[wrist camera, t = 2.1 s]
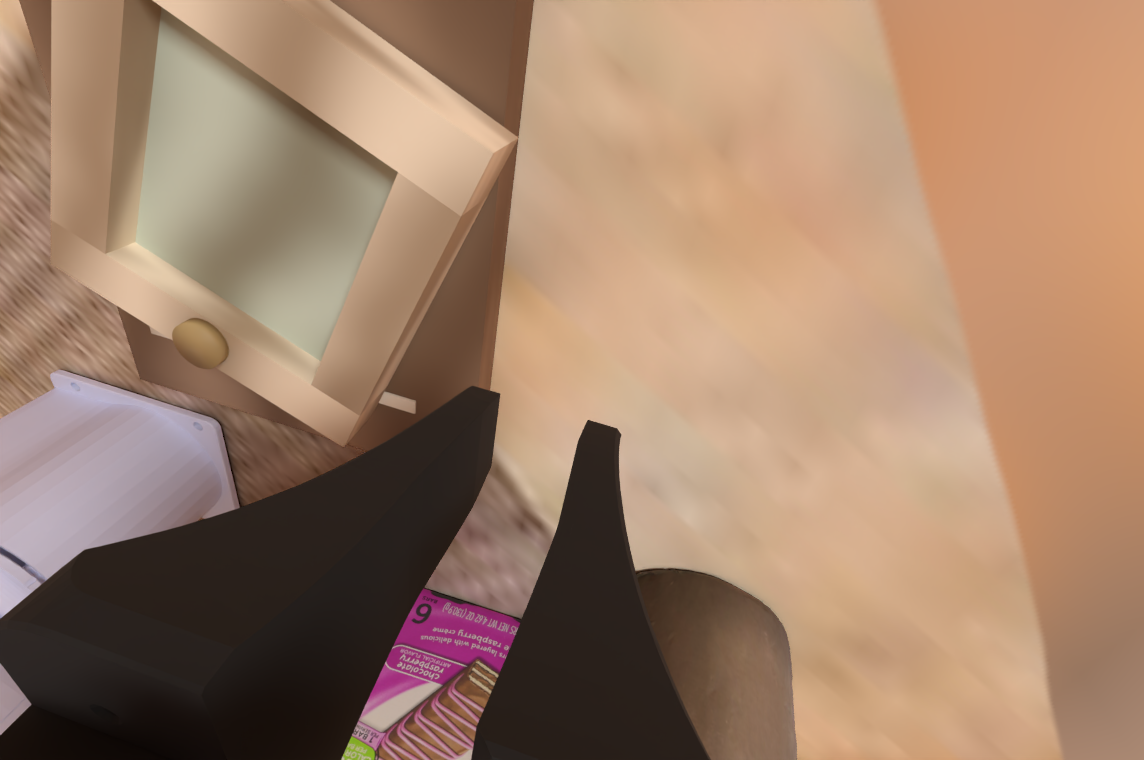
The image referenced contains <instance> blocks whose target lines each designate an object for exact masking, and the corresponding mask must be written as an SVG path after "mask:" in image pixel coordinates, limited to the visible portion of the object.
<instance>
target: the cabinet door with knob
mask: <svg viewBox="0 0 1144 760" xmlns="http://www.w3.org/2000/svg"><path fill="white" fill-rule="evenodd" d="M517 140H518V137H517V136H515V135H514V134H513V133H511V132H510V131H509V130H507V129H506V128H504V127H503V126H502V125H500V124H499V123H498V122H496V121H495V120H493V119H492V118H491V117H489V116H488V115H487V114H485V113H484V112H483V111H481V110H480V109H478V108H477V107H476V106H474V105H473V104H472V103H470V102H469V101H467V100H466V99H465V98H463V97H462V96H461V95H459V94H458V93H456V92H455V91H454V90H452V89H451V88H450V87H448V86H447V85H445V84H444V83H443V82H441V81H440V80H439V79H437V78H436V77H434V76H433V75H432V74H430V73H429V72H428V71H426V70H425V69H424V68H422V67H421V66H419V65H418V64H417V63H415V62H414V61H413V60H411V59H410V58H408V57H407V56H406V55H404V54H403V53H402V52H400V51H399V50H397V49H396V48H395V47H393V46H392V45H391V44H389V43H388V42H386V41H385V40H384V39H382V38H381V37H380V36H378V35H377V34H375V33H374V32H373V31H371V30H370V29H369V28H367V27H366V26H365V25H363V24H362V23H360V22H359V21H358V20H356V19H355V18H354V17H352V16H351V15H349V14H348V13H347V12H345V11H344V10H343V9H341V8H340V7H338V6H337V5H336V4H334V3H333V2H332V1H330V0H51V265H53V266H54V267H56V268H57V269H59V270H61V271H62V272H64V273H65V274H67V275H69V276H70V277H72V278H73V279H75V280H77V281H78V282H80V283H81V284H83V285H85V286H86V287H88V288H89V289H91V290H93V291H94V292H96V293H97V294H99V295H101V296H102V297H104V298H105V299H107V300H109V301H110V302H112V303H113V304H115V305H117V306H118V307H120V308H121V309H123V310H125V311H126V312H128V313H129V314H131V315H133V316H134V317H136V318H137V319H139V320H141V321H142V322H144V323H145V324H147V325H149V326H150V327H152V328H153V329H155V330H156V331H158V332H160V333H161V334H163V335H164V336H166V337H168V338H169V339H171V340H172V341H173V343H174V345H175V347H176V349H177V350H178V352H179V353H180V354H181V355H182V356H183V358H185V359H186V360H187V361H188V362H189V363H191V364H193V365H194V366H196V367H199V368H202V369H212V368H214V367H216V368H217V369H219V370H220V371H222V372H224V373H225V374H227V375H228V376H230V377H232V378H233V379H235V380H236V381H238V382H240V383H241V384H243V385H244V386H246V387H248V388H249V389H251V390H252V391H254V392H256V393H257V394H259V395H260V396H262V397H263V398H265V399H267V400H268V401H270V402H271V403H273V404H275V405H276V406H278V407H279V408H281V409H283V410H284V411H286V412H287V413H289V414H291V415H292V416H294V417H295V418H297V419H299V420H300V421H302V422H303V423H305V424H307V425H308V426H310V427H311V428H313V429H315V430H316V431H318V432H319V433H321V434H323V435H324V436H326V437H327V438H329V439H331V440H332V441H334V442H335V443H337V444H339V445H340V446H342V447H343V448H344V447H345V445H346V444H347V443H348V442H349V441H350V440H351V439H352V438H353V437H354V435H355V434H356V433H357V432H358V431H359V430H360V429H361V428H362V426H363V425H364V424H365V423H366V422H367V421H368V420H369V419H370V418H371V416H372V414H373V412H374V410H375V409H376V407H377V405H378V403H379V401H380V399H381V397H382V395H383V393H384V392H385V390H386V388H387V386H388V384H389V382H390V380H391V378H392V376H393V374H394V373H395V371H396V369H397V367H398V365H399V363H400V361H401V359H402V357H403V356H404V354H405V352H406V350H407V348H408V346H409V344H410V342H411V340H412V339H413V337H414V335H415V333H416V331H417V329H418V327H419V325H420V323H421V322H422V320H423V318H424V316H425V314H426V312H427V310H428V308H429V306H430V304H431V303H432V301H433V299H434V297H435V295H436V293H437V291H438V289H439V287H440V286H441V284H442V282H443V280H444V278H445V276H446V274H447V272H448V270H449V269H450V267H451V265H452V263H453V261H454V259H455V257H456V255H457V253H458V251H459V250H460V248H461V246H462V244H463V242H464V240H465V238H466V236H467V234H468V233H469V231H470V229H471V227H472V225H473V223H474V221H475V219H476V217H477V216H478V214H479V212H480V210H481V208H482V206H483V204H484V202H485V200H486V198H487V197H488V195H489V193H490V191H491V189H492V187H493V185H494V183H495V181H496V180H497V178H498V176H499V174H500V172H501V170H502V168H503V166H504V164H505V163H506V161H507V159H508V157H509V155H510V153H511V151H512V149H513V147H514V145H515V144H516V142H517Z"/></svg>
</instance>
